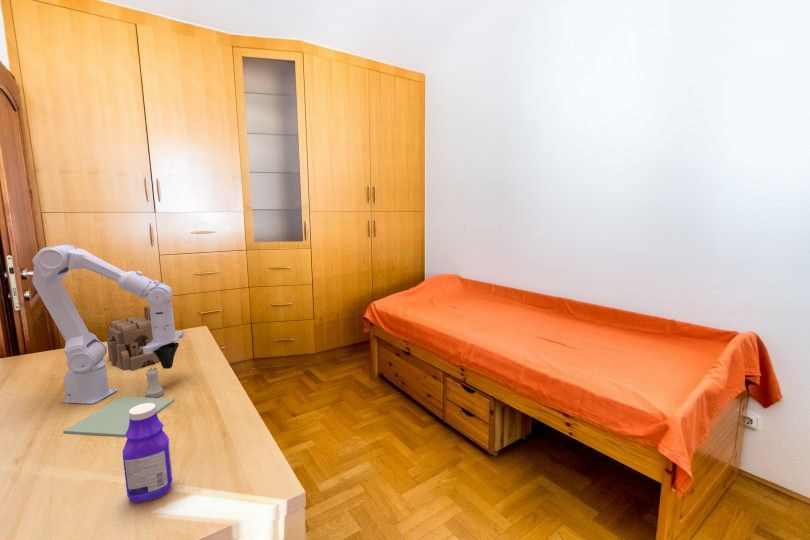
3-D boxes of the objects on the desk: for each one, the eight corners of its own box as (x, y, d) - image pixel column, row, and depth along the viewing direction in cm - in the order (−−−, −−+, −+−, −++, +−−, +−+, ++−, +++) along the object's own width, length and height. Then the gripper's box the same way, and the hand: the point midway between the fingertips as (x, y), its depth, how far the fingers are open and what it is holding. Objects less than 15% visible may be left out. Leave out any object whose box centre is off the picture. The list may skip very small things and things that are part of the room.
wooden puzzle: (101, 358, 137) (95, 308, 134) (147, 346, 148) (142, 300, 145) (123, 373, 124) (117, 319, 121) (171, 359, 136) (166, 309, 133)
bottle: (174, 477, 76) (166, 396, 73) (173, 495, 71) (163, 410, 68) (130, 489, 72) (119, 405, 69) (125, 510, 67) (113, 420, 65)
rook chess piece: (154, 400, 106) (151, 373, 105) (141, 398, 107) (138, 372, 106) (167, 392, 111) (164, 367, 109) (154, 391, 112) (152, 365, 110)
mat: (63, 433, 91) (63, 430, 90) (122, 398, 107) (122, 396, 107) (124, 436, 89) (124, 434, 89) (174, 401, 106) (174, 399, 106)
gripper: (157, 332, 104) (162, 378, 106) (191, 318, 119) (195, 358, 121) (134, 332, 105) (139, 377, 107) (170, 317, 119) (174, 358, 121)
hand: (167, 367), depth 114 cm, fingers closed
